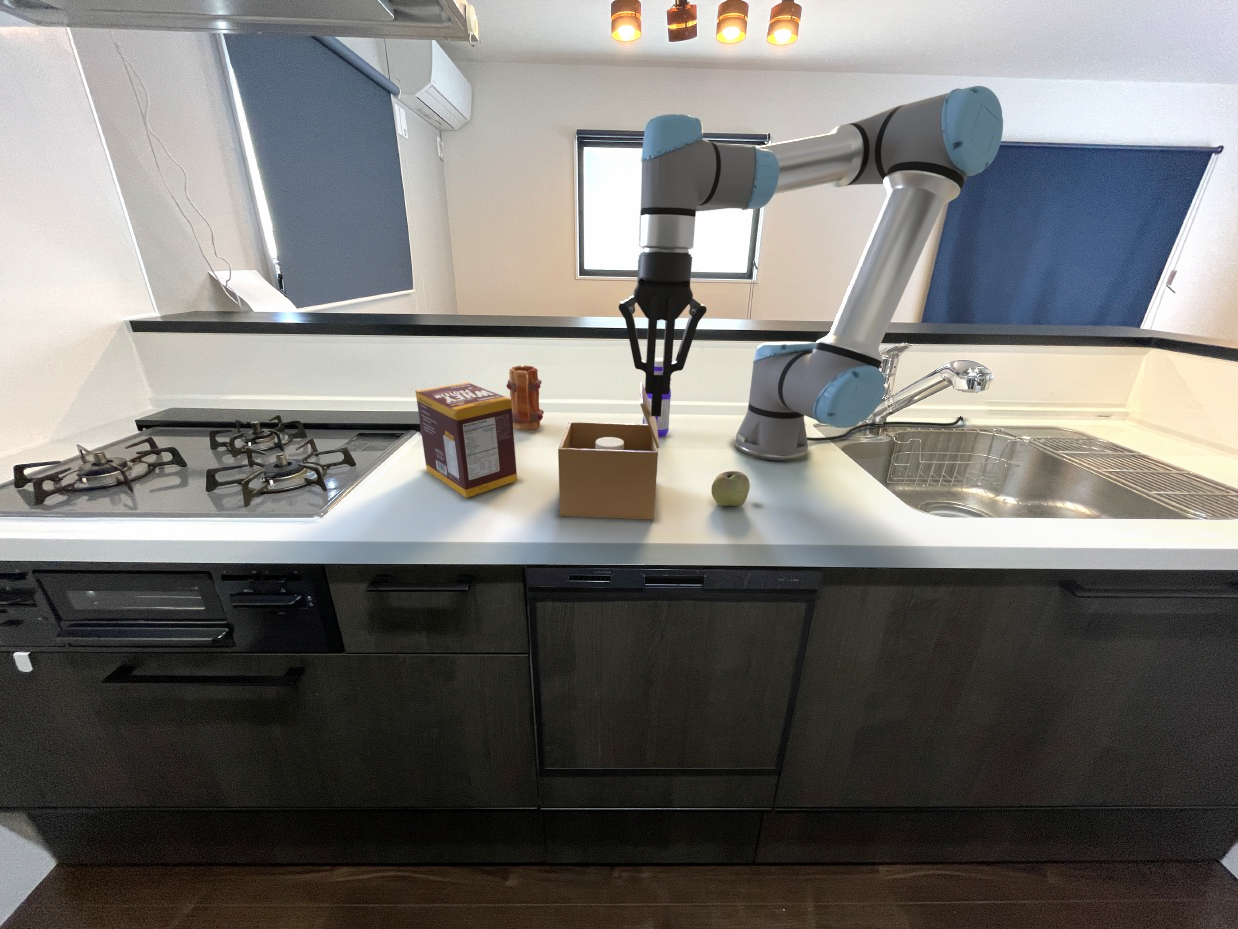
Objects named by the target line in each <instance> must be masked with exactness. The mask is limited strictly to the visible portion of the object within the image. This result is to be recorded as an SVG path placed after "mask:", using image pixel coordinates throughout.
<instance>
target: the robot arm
mask: <svg viewBox="0 0 1238 929" xmlns="http://www.w3.org/2000/svg"><path fill="white" fill-rule="evenodd" d="M703 126H704V125H703V122H702V121H701V119H699V118H698V117H694V116H693V115H689V114H682V113H681V114H680V113H670V114H662V115H657V116H655V117H652V118H651V119H649V121H648V122H647V123H646V125H645V127H644V134H643V140H642V152H641V157H640V162H641V191H640V210H639V213H640V214H639V228H638V229H639V231H638V247H639V248H642V252H639V254H638V256H637V258H638V259H637V278H636V280H637V282H636V286H635V288H634V290H633V293H632V294H633V295H632V296H630V297H629V298H628V299H625V300H624V301H620V302H619V304H618V310H619V312H620V313H621V315H622V317H623V319H624V321H625V325H626V330H627V336H628V340H629V345H630V350H631V356H632V360H633V365H634V368H635V369H636V370H640V371H642V372H644V373H645V376H644V377H645V378H644V379H645V381H644V388H645V392H646V394H652V400H651V416H658V417H661V406H662V394H667V395H668V394H669V392H670V389H671V381H672V374H674V373H675V372H678V371H679V372H680V371H683V369H684V367H685V366H686V362H687V360H688V355H689V352H690V349H691V347H692V343H693V341H694V337H695V334H696V331H697V328H698V325H699V322H700V321H701V320H702V318H703V317H704V316H705V314H706V313H707V310H708V309H707V307H706V305H704V304H703V303H700V302H698V300H696V299H695V298H694V293H693V290H692V288H691V278H692V265H693V256H692V254H691V253H690V251H689V250H692V249H693V248H694V242H695V230H696V229H695V227H696V217H697V215H696V214H697V212H707V211H716V210H725V209H741V210H742V211H747V210H759V209H763V208H764V207H765V206H767V205H768V204H769V203H770V201H771V200H772V198H773V197H774V195H779V194H784V193H789V192H794V191H798V190H802V189H807V188H813V187H818V186H822V185H827V184H829V185H830V186H831V187H833V188H842V187H843V188H844V187H848V186H858V185H883V187H884V189H885V191H886V193H887V196H886V199H885V200H884V203H883V205H882V207H881V210H880V213H879V215H878V218H877V220H876V222H875V224H874V226H873V229H872V231H871V234H870V236H869V239H868V241H867V244H866V245H865V248H864V250H863V253H862V255H861V257H860V260H859V263H858V264H857V267H856V270H855V271H854V274H853V277H852V279H851V281H850V284H849V286H848V288H847V290H846V293H845V296H844V298H843V300H842V302H841V306H840V307H839V310H838V313H837V314H836V317H835V320H834V321H833V324H832V326H831V329H830V332H829V333H827V335H825V336H824V337H821V338H819V339H817V340H816V342H814V341H768V342H762V343H760V344H759V345H758V346H757V347H756V349H755V355H754V357H753V360H752V372H751V380H750V388H749V389H750V390H749V398H748V405H747V411H746V414H745V416H744V417H743V419H742V422H741V424H740V426H739V428H738V430H737V431H736V436H735V439H734V446H735V448H736V449H737V450H738V451H740V452H741V453H743V454H744V455H747V456H750V457H753V458H756V459H761V460H766V461H774V462H791V461H797V460H800V459H802V458H803V459H804V457H806V455H807V453H808V448H809V442H810V441H811V442H823V441H825V442H826V441H833V440H839V439H843V438H845V437H847V436H849V434H851V433H852V432H854V431H856V430H859V429H862V428H867V427H873V426H886V425H890V426H891V425H904V426H906V425H907V426H908V425H910V426H934V427H935V426H936V427H952V426H955V425H957V424H959V422H960V421H963V420H964V417H963V416H962V417H961V416H960V417H958V416H957V418H956V419H955V421H952V422H930V421H929V422H927V421H883V422H884V423H883V424H875V423H874V422H868V423H863V422H865V421H866V420H867V419H868V418H869V417H870V416H871V415H872V414H873V413H874V412H875V411H876V410H877V408H878V407H879V405H880V404H881V402H882V400H883V398H884V395H885V393H886V392H885V391H886V386H885V384H886V377H885V375H884V374H883V373H882V371H881V370H880V368H881V367H882V364H883V361H884V359H883V357H882V354H881V353H880V346H881V344H882V342H883V339H884V337H885V335H886V332H887V330H888V328H889V326H890V324H891V321H892V319H893V317H894V315H895V312H896V310H897V309H898V306H899V304H900V302H901V300H902V297H903V295H904V293H905V290H906V288H907V286H908V284H909V281H910V280H911V277H912V275H913V273H914V271H915V269H916V266H917V264H918V262H919V259H920V257H921V255H922V253H923V251H924V248H925V246H926V244H927V242H928V241H929V240H928V239H929V237H930V235H931V233H932V231H933V229H934V226H935V224H936V222H937V219H938V218H939V216H940V213H941V211H942V209H943V207H944V205H945V204H947V203H949V202H951V201H953V200H955V199H956V198H958V197H959V195H960V193H961V192H962V189H963V187H964V185H965V183H966V182H967V179H968V177H972V176H975V175H977V174H980V173H982V172H983V171H984V170H985V169H987V168H988V167H989V166H990V165H991V164H992V163H993V161H994V159H995V158H996V157H997V154H998V151H999V149H1000V146H1001V142H1002V138H1003V132H1004V116H1003V109H1002V105H1001V102H1000V100H999V98H998V96H997V95H996V93H995V92H994V91H992V89H991V88H988V87H987V86H983V85H974V86H969V87H965V88H954V89H952V90H950V91H949V92H947V93H942V94H939V95H935V96H931V97H928V98H924V99H920V100H917V101H913V102H909V103H906V104H901V105H897V106H894V107H891V108H889V109H885V110H883V111H881V112H878V113H876V114H873V115H871V116H868V117H865V118H862V119H860V120H857V121H854V122H850V123H843V124H840V125H837V126H836V127H835V128H833V129H832V130H831V131H830V133H826V134H820V135H814V136H809V137H804V138H798V139H793V140H787V141H782V142H781V141H780V142H777V143H776V142H775V143H771V144H765V145H759V146H756V145H751V146H748V145H740V144H733V143H722V142H715V141H714V142H713V141H709V140H707V139H704V128H703ZM636 304H637V306H638V307H639V309H640V311H641V312H642V313H643V315H644V316H645V318H646V319H647V339H646V356H645V358H646V359H645V360H643V358H642V353H641V348H640V342H639V338H638V332H637V328H636V322H635V318H634V314H635V312H636ZM688 306H689V308H688V310H687V311H688V314H689V318H688V320H687V322H686V326H685V328H684V331H683V334H682V338H681V342H680V344H679V347H678V351H677V353H676V357H675V360H674V361H673V354H674V338H675V329H676V328H675V327H676V320H677V319H678V318H679V317H680V316H681V315H682V313H683V312H684V311H685V310H686V308H687V307H688ZM658 321H664V338H663V339H664V341H663V353H662V354H663V356H662V358H663V371H654V365H655V358H656V349H657V348H656V345H657V329H658ZM670 380H671V381H670ZM805 417H808V418H810V419H812V420H815V421H817V423H819V424H823V425H825V426H830V427H833V428H837V429H848V428H849V429H848V430H846V432H844V433H842V434H839V435H834V436H824V437H809V436H808V435H807V429H806V422H805ZM860 423H863V424H860Z"/></svg>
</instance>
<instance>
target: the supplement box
mask: <svg viewBox="0 0 1238 929" xmlns="http://www.w3.org/2000/svg"><path fill="white" fill-rule="evenodd" d="M414 391H415V398H416V405H417V412H418V418H419V426H420V434H421V442H422V446H423V456H424V461H425V462H424V463H425V468H426V472H427V473H429V474H430V475H432V476H433V477H435V478H436V479H438V480H439V481H441V482H442V483H444V484H445V485H446V486H448V487H449V488H451V489H452V490H454V491H455V492H457V493H458V494H460V495H461V496H462V497H464V498H467V499H468V498H470V497H474V496H476V495H480V494H482V493H485V492H488V491H491V490H494V489H497V488H500V487H503V486H506V485H509V484H513V483H514V482H518V472H517V461H516V460H517V458H516V446H515V445H516V444H515V431H514V430H515V429H514V428H513V416H512V402H511V398H510V397H508V396H505V395H502V394H500V393H496V392H493V391H491V390H489V389H486V388H483V387H481V386H478V385H476V384H474V383H471V382H467V381H466V382H461V383H455V384H450V385H443V386H438V387H431V388H425V389H417V390H414Z"/></svg>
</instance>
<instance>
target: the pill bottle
mask: <svg viewBox="0 0 1238 929" xmlns="http://www.w3.org/2000/svg"><path fill="white" fill-rule="evenodd" d="M595 448H596V449H604V450H623V449H624V441H623V440H621V439H619V438H615V437H603V438H599V439H597V440H596V442H595Z"/></svg>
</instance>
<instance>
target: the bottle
mask: <svg viewBox="0 0 1238 929" xmlns="http://www.w3.org/2000/svg"><path fill="white" fill-rule="evenodd" d="M654 371H663V357H655V365H654ZM670 382H672V379H671V380H670ZM647 396H648V399H649V402H650V405H651V400H652V394H647ZM671 396H672V389H671V388H670V392H669V394H668V395H667V394H662V406H661V417H658V416H655V418H656V422H657V431H658V438H664V437H666V436H667V435H668V433H669V429H670V428H669V426H670V411H671ZM642 424H647V421H646V418H645V416H644V413H643V412H642Z"/></svg>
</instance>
